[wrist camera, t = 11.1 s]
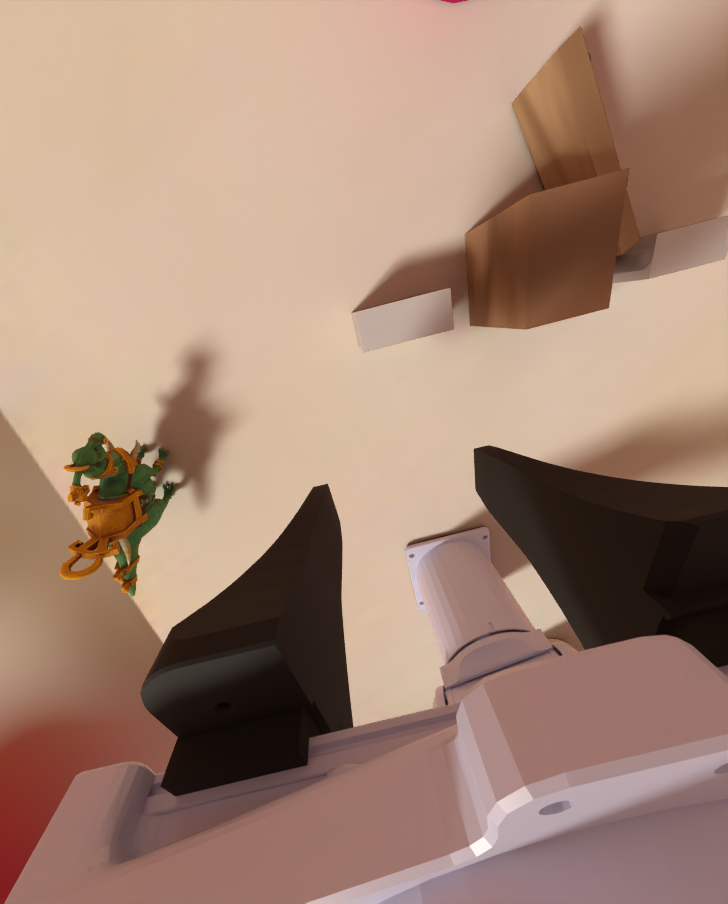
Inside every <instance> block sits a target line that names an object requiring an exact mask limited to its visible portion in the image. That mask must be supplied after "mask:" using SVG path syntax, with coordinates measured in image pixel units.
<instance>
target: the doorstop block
mask: <svg viewBox="0 0 728 904" xmlns="http://www.w3.org/2000/svg"><path fill="white" fill-rule="evenodd" d="M628 173H629V168H628V169H625V170H621V171H617V172H613V173H609V174H605V175H602V176H598V177H594V178H590V179H586V180H583V181H579V182H575V183H571V184H567V185H563V186H560V187H556V188H552V189H548V190H544V191H541V192H537V193H533V194H529V195H528V196H526V197H525V198H523V199H521V200H520V201H518V202H517V203H515V204H513V205H512V206H510V207H508V208H507V209H505V210H504V211H502V212H500V213H499V214H497V215H495V216H494V217H492V218H491V219H489V220H487V221H486V222H484V223H482V224H481V225H479V226H478V227H476V228H474V229H473V230H471V231H469V232H468V233H466V234H465V242H466V260H467V279H468V297H469V315H470V326H482V327H497V328H512V329H530V328H533V327H537V326H541V325H545V324H549V323H553V322H557V321H560V320H564V319H568V318H572V317H576V316H580V315H584V314H588V313H591V312H595V311H599V310H603V309H607V308H609V303H610V296H611V289H612V282H613V276H614V269H615V262H616V255H617V248H618V241H619V235H620V228H621V221H622V214H623V207H624V200H625V194H626V187H627V180H628Z"/></svg>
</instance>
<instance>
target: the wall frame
mask: <svg viewBox="0 0 728 904" xmlns="http://www.w3.org/2000/svg"><path fill="white" fill-rule="evenodd" d="M727 250H728V216H724V217H720V218H716V219H712V220H708V221H704V222H700V223H696V224H692V225H689V226H685V227H681V228H677V229H673V230H669V231H665V232H661V233H657V234H653V235H650V236H646V237H642V238H640V240H639V241H638V242H637V243H635V244H634V245H633V246H632V247H631V248H629V249H628V250H627V251H626V252H624V253H623V254H622V255H618V256H616V262H615V269H614V276H613V282H612V283H618V282H626V281H635V280H643V279H650V278H654V277H658V276H661V275H665V274H669V273H673V272H677V271H681V270H685V269H689V268H692V267H696V266H700V265H704V264H708V263H712V262H716V261H719V260H723V259H725V257H726V254H727ZM351 315H352V319H353V323H354V328H355V332H356V337H357V341H358V346H359V347H360V348H361V349H362V350H363V352H368V351H371V350H375V349H379V348H383V347H387V346H391V345H395V344H399V343H402V342H406V341H410V340H414V339H418V338H422V337H426V336H429V335H433V334H437V333H441V332H445V331H449V330H453V329H454V325H453V313H452V300H451V288H447V289H443V290H438V291H434V292H430V293H426V294H422V295H419V296H415V297H411V298H407V299H403V300H399V301H396V302H392V303H388V304H384V305H380V306H376V307H372V308H369V309H365V310H361V311H357V312H353V313H351Z"/></svg>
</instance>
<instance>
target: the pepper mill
mask: <svg viewBox="0 0 728 904" xmlns="http://www.w3.org/2000/svg"><path fill="white" fill-rule="evenodd" d="M442 1H446V2H451V3H457V2H462V1H467V0H442Z"/></svg>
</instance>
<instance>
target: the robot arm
mask: <svg viewBox="0 0 728 904" xmlns="http://www.w3.org/2000/svg"><path fill="white" fill-rule="evenodd" d="M474 465H475V488H476V491H477V493H478V495H479V496H480V498H481V500H482V501H483V503H484V505H485V506H486V508H487V509H488V510H489V512H490V513H491V514H492V515H493V517H494V518H495V519H496V520H497V522H498V523H499V524H500V525H501V526H502V528H503V529H504V530H505V531H506V532H507V534H508V535H509V536H510V537H511V538H512V540H513V541H514V542H515V543H516V544H517V546H518V547H519V548H520V549H521V550H522V552H523V553H524V554H525V556H526V557H527V558H528V560H529V561H530V562H531V564H532V565H533V567H534V568H535V570H536V571H537V573H538V574H539V576H540V577H541V579H542V580H543V582H544V583H545V585H546V586H547V588H548V589H549V591H550V593H551V594H552V596H553V597H554V599H555V600H556V602H557V604H558V605H559V607H560V608H561V610H562V612H563V613H564V615H565V617H566V618H567V620H568V622H569V623H570V625H571V627H572V628H573V630H574V632H575V633H576V635H577V637H578V638H579V640H580V642H581V643H582V645H583V647H584V649H585V650H583V651H579V652H578V651H576V650H575V649H573V648H571V647H569V646H566V645H565V644H564V643H562V642H556V643H554V644H552V645H551V644H550V642H549V641H548V639H547V638H546V636H545V635H544V633H543V632H542V630H541V629H538V630H535V629H534V627H533V625H532V624H531V622H530V621H529V619H528V618H527V616H526V615H525V613H524V612H523V610H522V609H521V607H520V605H519V604H518V602H517V601H516V599H515V598H514V596H513V595H512V593H511V592H510V590H509V589H508V587H507V586H506V584H505V582H504V581H503V579H502V578H501V576H500V575H499V573H498V572H497V570H496V569H495V567H494V566H493V564H492V562H491V555H490V531H489V530H488V528H487V527H481V528H477V529H473V530H469V531H465V532H461V533H457V534H453V535H449V536H445V537H441V538H437V539H433V540H429V541H425V542H421V543H417V544H413V545H410V546H407V547H406V548H405V553H406V557H407V562H408V566H409V570H410V575H411V579H412V584H413V588H414V593H415V597H416V601H417V606H418V610H419V611H420V612H425V611H427V614H428V618H429V621H430V624H431V627H432V630H433V633H434V636H435V639H436V642H437V645H438V649H439V652H440V655H441V658H442V661H443V664H444V666H442V667H440V668H439V669H440V673H441V676H442V679H443V683H444V686H440V687H438V688H437V689H436V693H435V698H434V702H433V709H429V710H424V711H420V712H416V713H412V714H408V715H403V716H399V717H395V718H391V719H387V720H382V721H378V722H374V723H370V724H366V725H361V726H357V727H353V720H352V711H351V702H350V693H349V683H348V674H347V664H346V653H345V642H344V630H343V617H342V601H341V587H342V535H341V526H340V520H339V517H338V514H337V511H336V508H335V505H334V502H333V499H332V495H331V492H330V489H329V486H328V484H325V485H320V486H316V487H313V489H312V490H311V492H310V493H309V495H308V496H307V498H306V499H305V501H304V503H303V504H302V506H301V507H300V509H299V510H298V512H297V513H296V515H295V516H294V518H293V519H292V521H291V522H290V523H289V525H288V526H287V527H286V529H285V530H284V531H283V533H282V534H281V535H280V536H279V538H278V539H277V540H276V541H275V542H274V544H273V545H272V546H271V547H270V548H269V549H268V550H267V551H266V552H265V553H264V554H263V556H262V557H261V558H260V559H258V560H257V561H256V562H255V563H254V564H253V565H252V566H251V567H250V568H249V569H248V570H247V571H246V572H245V573H244V574H243V575H242V576H240V577H239V578H238V579H237V580H236V581H235V582H233V583H232V584H231V585H230V586H229V587H227V588H226V589H225V590H224V591H222V592H221V593H220V594H219V595H217V596H216V597H215V598H214V599H212V600H211V601H210V602H208V603H207V604H206V605H204V606H203V607H201V608H200V609H198V610H197V611H196V612H194V613H193V614H191V615H190V616H189V617H187V618H186V619H184V620H183V621H181V622H180V623H178V624H177V625H175V626H174V627H172V629H171V631H170V633H169V635H168V637H167V639H166V640H165V642H164V644H163V646H162V648H161V650H160V652H159V654H158V656H157V658H156V660H155V662H154V664H153V666H152V668H151V669H150V671H149V673H148V675H147V677H146V679H145V681H144V683H143V686H142V689H141V697H142V701H143V704H144V706H145V707H146V708H147V710H148V711H149V712H150V713H151V714H152V715H153V716H154V717H156V718H157V719H158V720H159V721H160V722H161V723H162V724H164V725H165V726H166V727H167V728H168V729H169V730H170V731H172V732H173V733H174V734H175V735H176V736H177V737H178V739H177V742H176V744H175V747H174V750H173V753H172V755H171V758H170V761H169V763H168V766H167V769H166V772H164V773H160V774H156V775H155V774H154V772H153V771H152V770H151V769H150V768H149V767H148V766H147V765H145V764H142V763H140V762H132V761H131V762H123V763H118V764H114V765H110V766H105V767H101V768H98V769H93V770H89V771H85V772H81V773H80V774H78V775H77V776H76V777H75V778H74V780H73V782H72V784H71V785H70V787H69V789H68V791H67V793H66V794H65V796H64V798H63V800H62V801H61V803H60V805H59V807H58V809H57V810H56V812H55V814H54V816H53V817H52V819H51V821H50V823H49V825H48V826H47V828H46V830H45V832H44V834H43V835H42V837H41V839H40V841H39V842H38V844H37V846H36V848H35V850H34V851H33V853H32V855H31V857H30V859H29V860H28V862H27V864H26V866H25V867H24V869H23V871H22V873H21V875H20V877H19V878H18V880H17V882H16V883H15V885H14V887H13V889H12V891H11V892H10V894H9V896H8V898H7V900H6V902H5V903H4V904H728V487H709V486H689V485H676V484H663V483H653V482H644V481H636V480H628V479H621V478H614V477H608V476H602V475H597V474H592V473H587V472H582V471H577V470H572V469H568V468H564V467H561V466H557V465H553V464H549V463H546V462H542V461H539V460H535V459H532V458H529V457H526V456H523V455H520V454H516V453H513V452H510V451H507V450H504V449H501V448H497V447H493V446H489V445H488V446H484V447H480V448H475V449H474ZM410 554H412V555H410Z"/></svg>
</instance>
